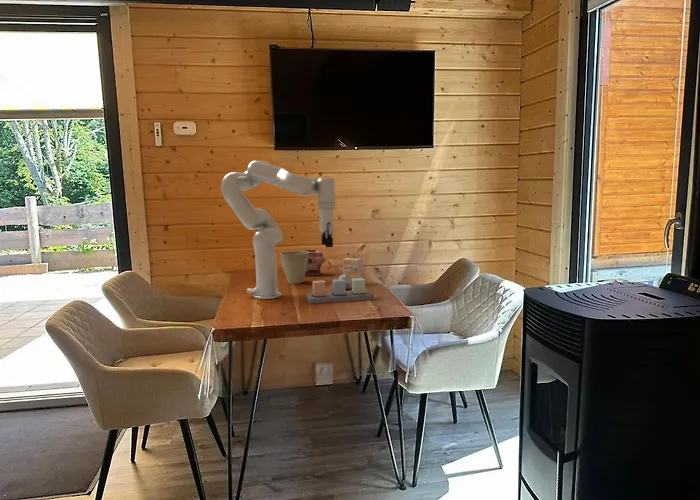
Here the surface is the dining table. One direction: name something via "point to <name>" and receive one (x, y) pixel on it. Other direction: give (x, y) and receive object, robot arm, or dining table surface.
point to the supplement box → (352, 267)
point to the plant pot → (294, 265)
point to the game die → (347, 279)
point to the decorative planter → (314, 262)
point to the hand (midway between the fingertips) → (327, 245)
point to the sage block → (358, 285)
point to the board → (338, 297)
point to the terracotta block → (319, 288)
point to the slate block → (339, 287)
